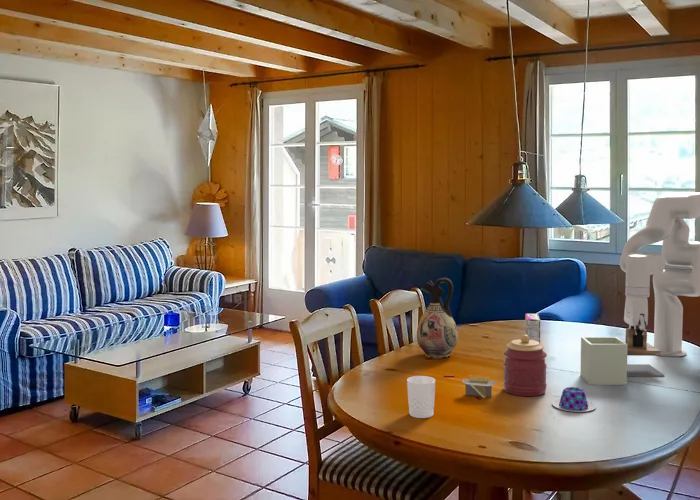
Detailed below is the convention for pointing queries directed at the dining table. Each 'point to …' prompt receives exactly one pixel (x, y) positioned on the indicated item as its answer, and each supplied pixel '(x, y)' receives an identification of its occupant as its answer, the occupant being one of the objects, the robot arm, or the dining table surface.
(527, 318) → the candy bar box
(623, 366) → the box
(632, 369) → the mat
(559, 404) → the pudding
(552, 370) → the dining table surface
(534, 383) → the canister
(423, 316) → the ceramic jug
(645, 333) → the lid
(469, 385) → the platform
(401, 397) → the dining table surface
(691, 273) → the robot arm
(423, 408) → the white cup
